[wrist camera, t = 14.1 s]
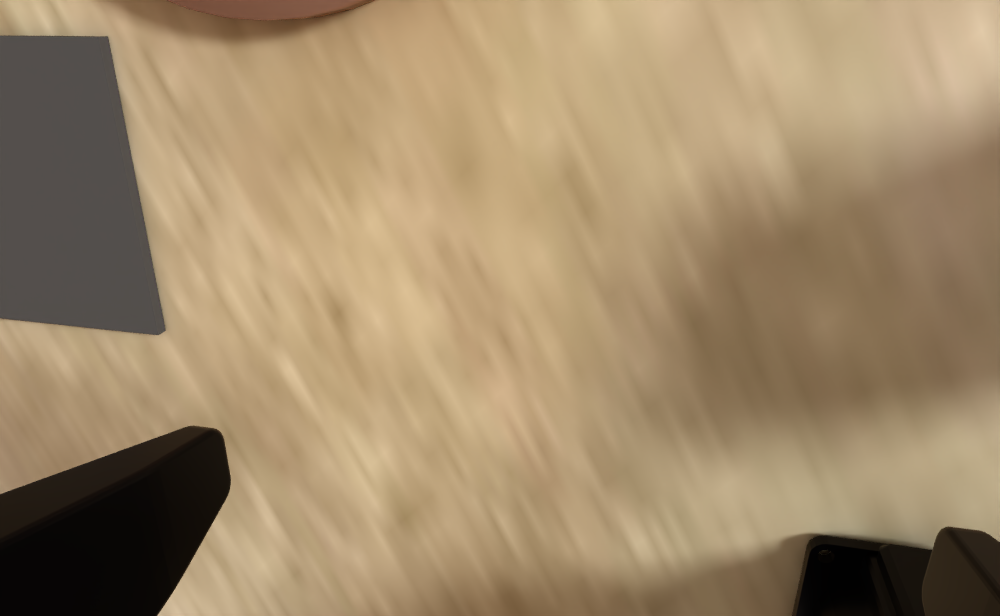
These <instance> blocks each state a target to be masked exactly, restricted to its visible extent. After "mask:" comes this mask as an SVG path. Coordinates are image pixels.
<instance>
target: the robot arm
mask: <svg viewBox="0 0 1000 616" xmlns="http://www.w3.org/2000/svg"><path fill="white" fill-rule="evenodd" d="M230 485H231V476H230V471H229V465H228V459H227V453H226V448H225V442H224V438H223V435H222V434H221V432H220V431H219V430H217V429H215V428H207V427H200V426H188V427H185V428H182V429H179V430H176V431H174V432H171V433H168V434H165V435H163V436H160V437H157V438H154V439H152V440H149V441H146V442H143V443H141V444H138V445H135V446H132V447H130V448H127V449H124V450H121V451H118V452H116V453H113V454H110V455H107V456H105V457H102V458H99V459H96V460H94V461H91V462H88V463H85V464H83V465H80V466H77V467H74V468H72V469H69V470H66V471H63V472H61V473H58V474H55V475H52V476H49V477H47V478H44V479H41V480H38V481H36V482H33V483H30V484H27V485H25V486H22V487H19V488H16V489H14V490H11V491H8V492H5V493H3V494H0V616H157V615H158V614H159V612H160V611H161V609H162V608H163V606H164V605H165V603H166V602H167V600H168V599H169V597H170V596H171V594H172V593H173V591H174V590H175V588H176V586H177V585H178V583H179V581H180V580H181V578H182V576H183V575H184V573H185V571H186V569H187V568H188V566H189V564H190V562H191V560H192V559H193V557H194V555H195V553H196V552H197V550H198V548H199V546H200V544H201V543H202V541H203V539H204V537H205V536H206V534H207V532H208V530H209V528H210V527H211V525H212V523H213V521H214V520H215V518H216V516H217V514H218V512H219V511H220V509H221V507H222V505H223V504H224V502H225V500H226V498H227V496H228V493H229V490H230ZM822 550H828V551H831V552H830V553H828V554H820V553H819V552H821V551H822ZM792 616H1000V542H999V541H997V540H996V539H994V538H993V537H992V536H990V535H989V534H987V533H985V532H983V531H979V530H971V529H963V528H956V527H945V528H943V529H941V530H940V532H939V533H938V535H937V537H936V540H935V543H934V547H933V550H926V549H919V548H912V547H904V546H897V545H888V544H881V543H874V542H867V541H860V540H853V539H846V538H839V537H832V536H817V537H814V538H813V539H811V540H810V541H809V543H808V545H807V548H806V553H805V558H804V562H803V567H802V572H801V577H800V581H799V586H798V591H797V596H796V600H795V605H794V610H793V615H792Z"/></svg>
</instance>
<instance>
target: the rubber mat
mask: <svg viewBox="0 0 1000 616" xmlns="http://www.w3.org/2000/svg"><path fill="white" fill-rule="evenodd" d="M0 318H3V319H12V320H21V321H31V322H40V323H49V324H59V325H68V326H77V327H87V328H96V329H105V330H115V331H124V332H133V333H143V334H152V335H160V334H161V333H163V332H164V331H166V330H165V325H164V320H163V315H162V310H161V305H160V300H159V295H158V289H157V284H156V279H155V274H154V269H153V264H152V259H151V254H150V249H149V244H148V239H147V233H146V228H145V223H144V218H143V213H142V208H141V203H140V198H139V193H138V188H137V183H136V178H135V172H134V167H133V162H132V157H131V152H130V147H129V142H128V137H127V132H126V127H125V122H124V116H123V111H122V106H121V101H120V96H119V91H118V86H117V81H116V76H115V71H114V66H113V60H112V55H111V50H110V45H109V40H108V37H95V36H0Z"/></svg>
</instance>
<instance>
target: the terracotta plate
mask: <svg viewBox="0 0 1000 616" xmlns="http://www.w3.org/2000/svg"><path fill="white" fill-rule="evenodd" d="M167 1H170V2H172V3H175V4H177V5H180V6H183V7H185V8H188V9H192V10H196V11H200V12H204V13H209V14H213V15H217V16H221V17H228V18H240V19H252V20H288V19H301V18H315V17H321V16H325V15H330V14H334V13H338V12H342V11H347V10H351V9H354V8H357V7H359V6H362V5H364V4H366V3H369V2H371V1H374V0H167Z"/></svg>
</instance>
